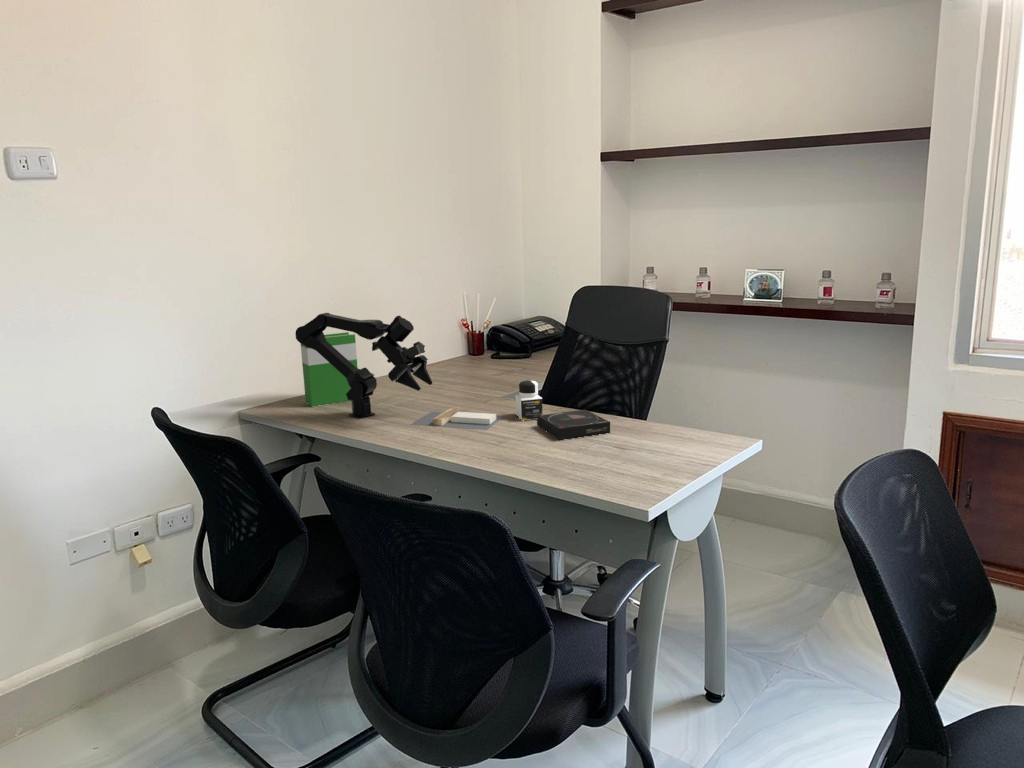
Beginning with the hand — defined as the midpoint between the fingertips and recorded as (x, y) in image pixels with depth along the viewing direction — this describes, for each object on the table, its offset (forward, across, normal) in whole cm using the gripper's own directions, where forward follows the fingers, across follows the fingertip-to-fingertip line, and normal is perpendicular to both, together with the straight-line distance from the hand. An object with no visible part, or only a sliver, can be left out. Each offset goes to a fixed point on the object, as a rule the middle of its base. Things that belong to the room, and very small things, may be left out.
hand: (425, 386), depth 247 cm
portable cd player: (+42, 0, -27) cm, 50 cm away
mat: (+15, 0, 0) cm, 15 cm away
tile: (+18, 0, -5) cm, 19 cm away
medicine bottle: (+30, +10, -15) cm, 35 cm away
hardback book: (-23, +16, +40) cm, 49 cm away
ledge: (+12, 0, +2) cm, 12 cm away
